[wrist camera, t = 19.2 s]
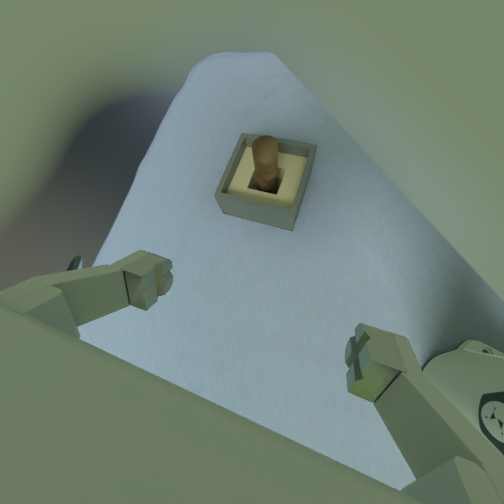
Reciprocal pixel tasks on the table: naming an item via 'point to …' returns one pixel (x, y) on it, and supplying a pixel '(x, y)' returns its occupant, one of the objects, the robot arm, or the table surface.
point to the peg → (266, 163)
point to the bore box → (262, 203)
